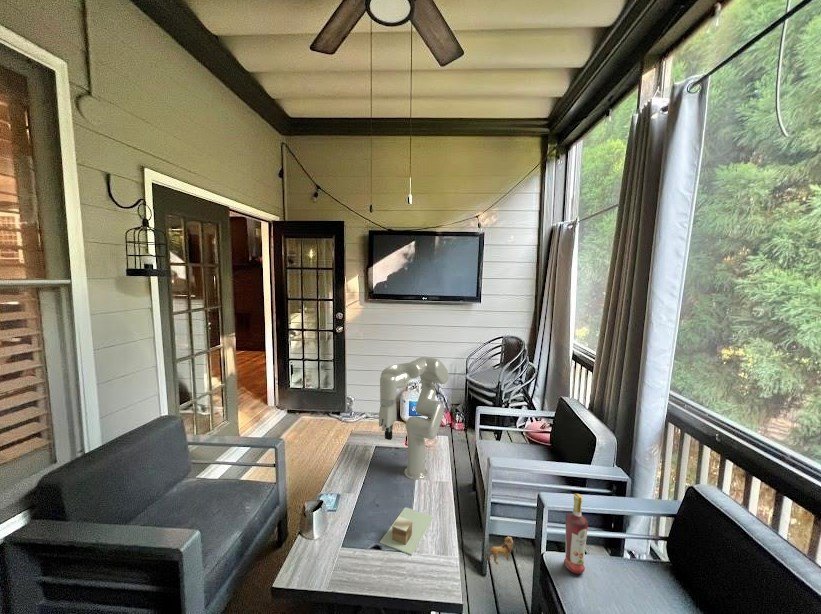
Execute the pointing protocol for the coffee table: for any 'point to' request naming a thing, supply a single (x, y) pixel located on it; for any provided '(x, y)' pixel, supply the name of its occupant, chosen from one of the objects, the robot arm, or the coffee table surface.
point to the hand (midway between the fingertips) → (388, 438)
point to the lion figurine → (501, 550)
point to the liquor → (575, 537)
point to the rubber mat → (418, 529)
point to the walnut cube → (402, 530)
